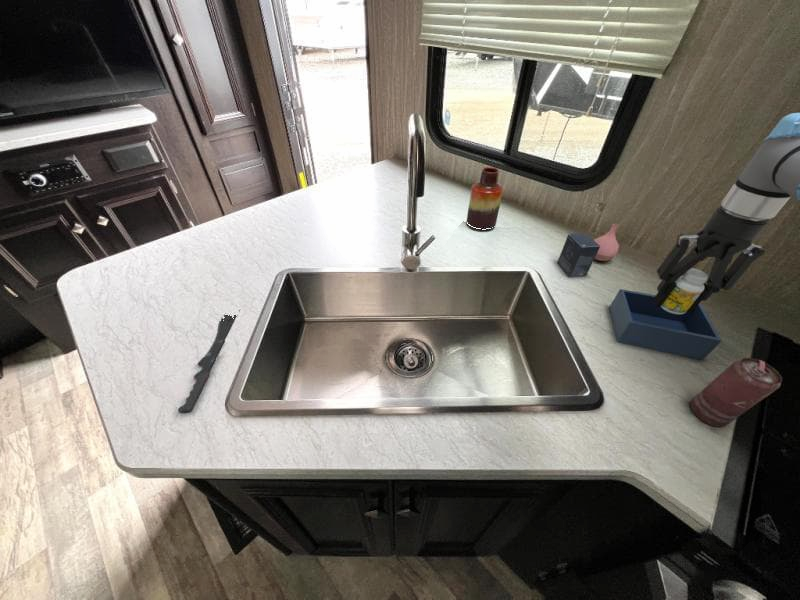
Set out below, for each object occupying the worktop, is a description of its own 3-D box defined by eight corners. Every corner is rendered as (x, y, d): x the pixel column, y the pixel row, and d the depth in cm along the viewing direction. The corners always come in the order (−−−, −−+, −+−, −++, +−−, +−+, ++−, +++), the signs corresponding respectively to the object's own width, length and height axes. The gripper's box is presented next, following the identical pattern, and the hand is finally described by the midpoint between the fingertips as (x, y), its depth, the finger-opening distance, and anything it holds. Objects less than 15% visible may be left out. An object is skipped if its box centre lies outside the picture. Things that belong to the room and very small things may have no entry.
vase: (483, 235, 114) (494, 178, 100) (460, 224, 120) (467, 169, 106) (501, 225, 119) (513, 170, 106) (477, 215, 125) (487, 161, 112)
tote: (684, 322, 81) (701, 303, 77) (702, 360, 72) (722, 340, 68) (608, 307, 85) (620, 288, 81) (616, 341, 76) (630, 322, 72)
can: (725, 407, 63) (781, 364, 54) (728, 433, 59) (789, 392, 50) (688, 392, 66) (735, 349, 56) (689, 416, 62) (740, 374, 52)
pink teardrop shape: (612, 255, 104) (630, 222, 96) (612, 267, 99) (630, 233, 91) (586, 249, 106) (601, 216, 98) (585, 261, 101) (600, 227, 93)
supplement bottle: (690, 310, 72) (718, 277, 66) (676, 318, 70) (703, 284, 64) (666, 296, 76) (691, 263, 69) (652, 303, 74) (676, 270, 67)
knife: (229, 303, 86) (229, 302, 86) (245, 303, 87) (244, 301, 86) (170, 412, 62) (168, 411, 62) (191, 412, 63) (190, 410, 62)
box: (586, 276, 96) (601, 246, 88) (568, 277, 95) (582, 247, 88) (573, 261, 101) (586, 231, 94) (556, 262, 101) (568, 232, 94)
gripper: (795, 210, 58) (712, 303, 73) (679, 197, 62) (623, 288, 78) (821, 229, 53) (726, 326, 68) (692, 213, 57) (630, 308, 72)
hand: (671, 305), depth 73 cm, fingers closed on supplement bottle, 5 cm apart
